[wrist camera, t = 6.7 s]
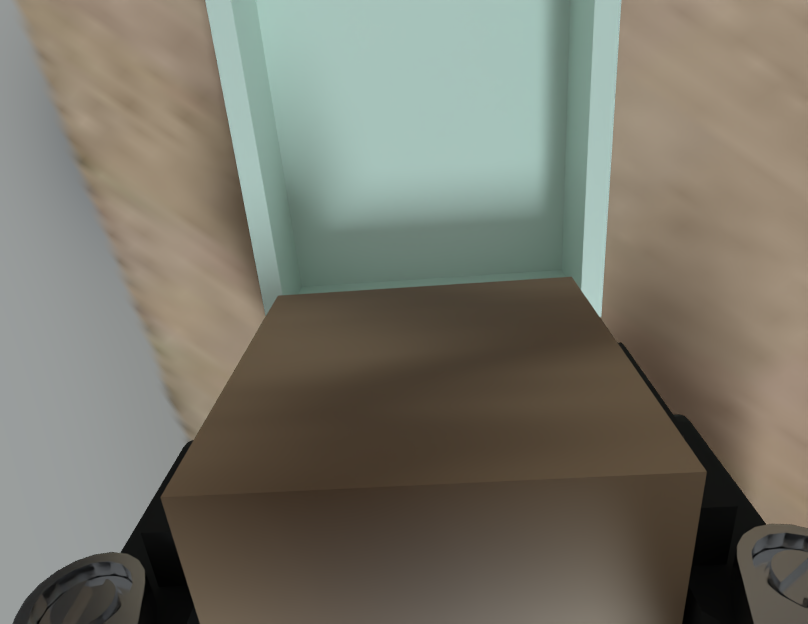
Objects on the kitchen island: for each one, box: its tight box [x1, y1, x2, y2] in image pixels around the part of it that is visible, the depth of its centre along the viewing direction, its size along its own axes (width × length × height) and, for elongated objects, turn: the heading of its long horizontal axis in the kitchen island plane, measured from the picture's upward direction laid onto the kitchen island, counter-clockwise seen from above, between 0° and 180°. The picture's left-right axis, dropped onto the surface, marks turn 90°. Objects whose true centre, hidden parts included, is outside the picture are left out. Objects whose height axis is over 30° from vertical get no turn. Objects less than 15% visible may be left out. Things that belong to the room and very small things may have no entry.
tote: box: [205, 0, 621, 317], centre depth 26 cm, size 16×24×5 cm, turn 5°
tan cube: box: [160, 277, 707, 624], centre depth 9 cm, size 5×5×5 cm
